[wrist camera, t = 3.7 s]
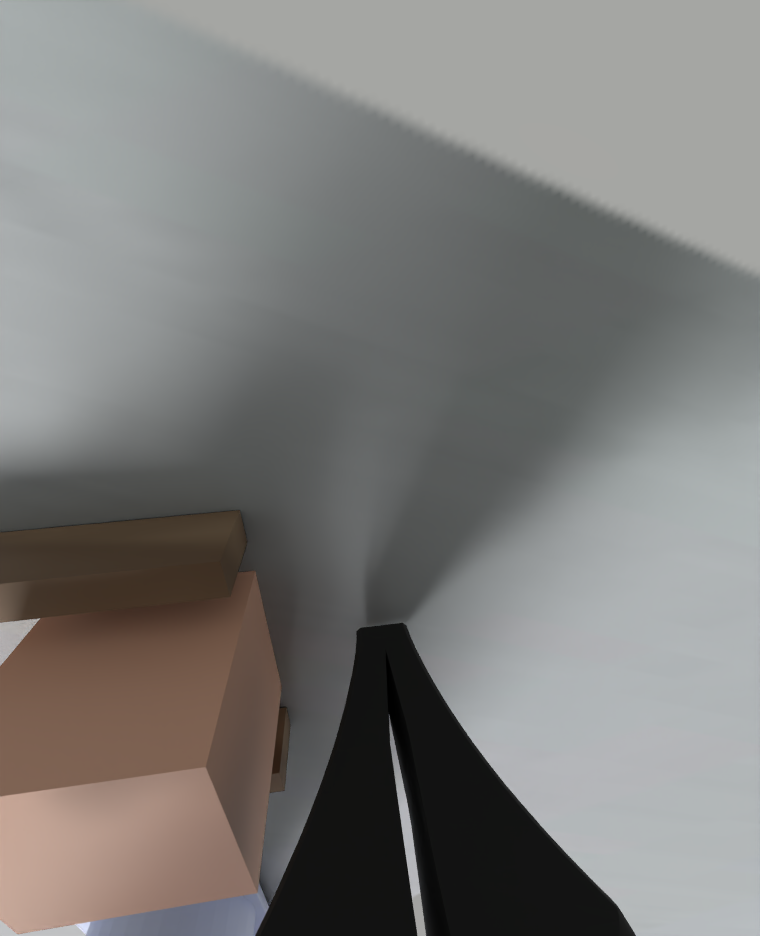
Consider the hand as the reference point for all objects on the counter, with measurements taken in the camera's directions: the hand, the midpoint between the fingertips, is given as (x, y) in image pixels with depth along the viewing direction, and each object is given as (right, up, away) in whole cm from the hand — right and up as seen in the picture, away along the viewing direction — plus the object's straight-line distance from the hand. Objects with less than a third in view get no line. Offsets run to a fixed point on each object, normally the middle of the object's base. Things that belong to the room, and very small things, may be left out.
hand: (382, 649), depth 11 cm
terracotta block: (-6, 0, 0) cm, 6 cm away
